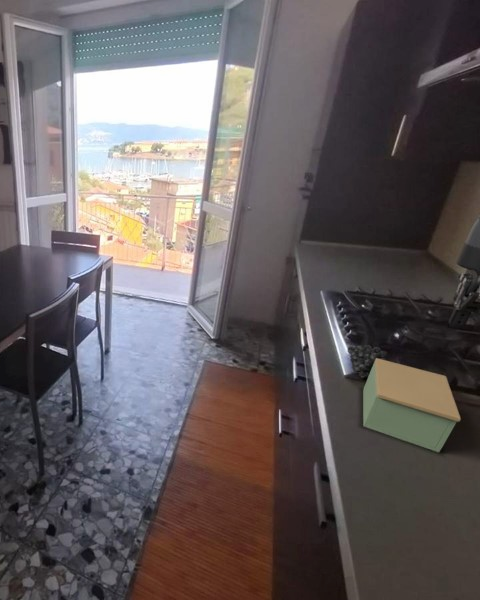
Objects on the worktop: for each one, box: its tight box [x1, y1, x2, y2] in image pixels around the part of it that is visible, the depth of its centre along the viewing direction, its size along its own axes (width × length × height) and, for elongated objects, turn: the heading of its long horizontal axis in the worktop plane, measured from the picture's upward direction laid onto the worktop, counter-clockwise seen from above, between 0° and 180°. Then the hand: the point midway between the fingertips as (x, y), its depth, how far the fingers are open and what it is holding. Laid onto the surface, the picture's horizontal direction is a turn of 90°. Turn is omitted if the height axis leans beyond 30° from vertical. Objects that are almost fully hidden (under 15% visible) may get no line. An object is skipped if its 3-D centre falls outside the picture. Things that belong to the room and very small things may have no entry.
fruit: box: [347, 344, 392, 380], centre depth 97 cm, size 9×8×15 cm
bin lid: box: [375, 358, 461, 423], centre depth 78 cm, size 16×13×1 cm
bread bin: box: [362, 362, 458, 453], centre depth 80 cm, size 16×13×9 cm
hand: (455, 325), depth 73 cm, fingers closed
